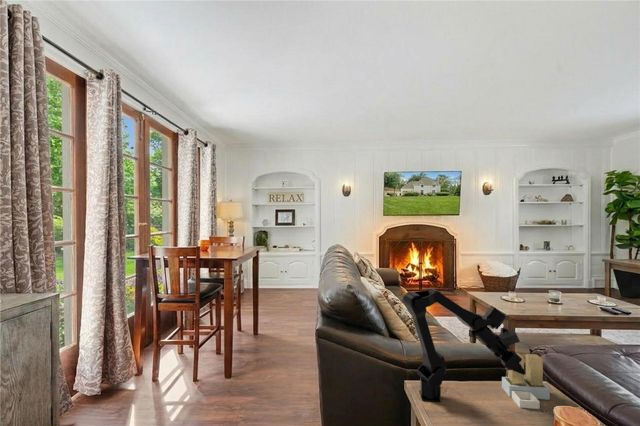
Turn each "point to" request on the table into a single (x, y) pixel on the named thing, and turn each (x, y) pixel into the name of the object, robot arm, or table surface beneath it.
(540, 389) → the two-compartment pale blue organizer
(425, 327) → the robot arm
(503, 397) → the table surface
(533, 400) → the box
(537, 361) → the seated billet
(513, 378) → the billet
